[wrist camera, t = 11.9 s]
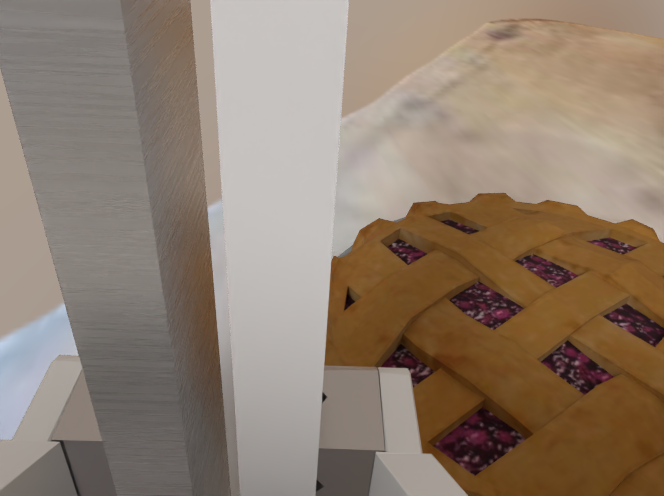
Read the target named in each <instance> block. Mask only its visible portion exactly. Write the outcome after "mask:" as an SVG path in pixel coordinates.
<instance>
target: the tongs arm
mask: <svg viewBox="0 0 664 496" xmlns="http://www.w3.org/2000/svg"><path fill="white" fill-rule="evenodd" d="M193 41H194V40H193V29H192V16H191V3H190V0H0V69H1V72H2V76H3V80H4V83H5V87H6V91H7V94H8V98H9V102H10V105H11V109H12V113H13V116H14V120H15V124H16V127H17V131H18V134H19V138H20V142H21V145H22V149H23V153H24V157H25V160H26V164H27V168H28V171H29V175H30V179H31V182H32V186H33V189H34V193H35V197H36V200H37V204H38V207H39V211H40V215H41V218H42V222H43V226H44V230H45V233H46V237H47V241H48V244H49V248H50V251H51V255H52V259H53V262H54V266H55V270H56V273H57V277H58V281H59V284H60V288H61V292H62V295H63V299H64V303H65V306H66V310H67V314H68V317H69V321H70V325H71V328H72V332H73V336H74V339H75V343H76V347H77V350H78V354H79V358H80V361H81V365H82V369H83V372H84V376H85V380H86V383H87V387H88V390H89V394H90V398H91V401H92V405H93V409H94V412H95V416H96V420H97V423H98V427H99V431H100V434H101V438H102V442H103V445H104V449H105V453H106V456H107V460H108V464H109V467H110V471H111V475H112V478H113V482H114V486H115V489H116V493H117V496H231V491H230V479H229V466H228V454H227V442H226V430H225V418H224V406H223V393H222V381H221V369H220V357H219V345H218V332H217V320H216V308H215V296H214V284H213V271H212V259H211V247H210V235H209V223H208V211H207V199H206V186H205V174H204V162H203V150H202V139H201V138H202V137H201V126H200V113H199V101H198V89H197V77H196V64H195V53H194V42H193Z"/></svg>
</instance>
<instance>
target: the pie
mask: <svg viewBox="0 0 664 496" xmlns="http://www.w3.org/2000/svg"><path fill="white" fill-rule="evenodd" d="M324 366H356V367H376V368H378V367H384V368H408V370H409V371H410V373H411V379H412V386H413V393H414V399H415V406H416V413H417V420H418V426H419V433H420V440H421V447H422V453H425V454H432V455H433V456H434V457H435V458H436V459H437V460H438V462H439V463H440V464H441V465H442V466H443V467H444V468H445V470H446V471H447V472H448V473H449V474H450V475H451V477H452V478H453V479H454V480H455V481H456V482H457V483H458V485H459V486H460V487H461V488H462V489H463V490H464V491H465V493H466V494H467V495H468V496H664V243H662V242H660V241H659V239H658V237H657V235H656V233H655V231H654V229H653V228H650V227H648V226H646V225H644V224H642V223H639V222H637V221H635V220H633V219H631V220H627V221H624V222H620V223H617V224H614V223H611V222H608V221H605V220H601V219H598V218H595V217H592V216H588V215H587V214H585V213H584V212H583V211H582V210H581V209H580V208H579V207H578V206H576V205H570V204H565V203H560V202H555V201H550V200H546V201H544V202H541V203H538V204H531V203H522V202H515V201H514V200H513V199H511V198H510V197H509V196H508V195H507V194H506V193H487V194H478V195H476V196H475V197H474V198H473V199H472V200H471V201H470V202H466V203H458V204H451V205H449V204H442V203H437V202H436V201H430V202H417V203H413V205H412V207H411V209H410V210H409V212H408V214H407V216H406V217H404V218H402V219H399V220H396V221H393V222H392V221H388V220H384V219H380V218H379V219H377V220H376V221H374V222H372V223H371V224H369V225H367V226H366V227H364V228H363V229H361V230H360V231H359V233H358V235H357V238H356V240H355V242H354V244H353V245H352V246H351V247H350V248H349V249H347V250H346V251H345V252H343V253H342V254H341V255H340V256H338V257H336V256H334V257H333V259H332V261H331V273H330V287H329V302H328V317H327V332H326V347H325V362H324Z"/></svg>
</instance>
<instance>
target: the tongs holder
mask: <svg viewBox="0 0 664 496" xmlns="http://www.w3.org/2000/svg"><path fill="white" fill-rule="evenodd" d="M210 2H211V18H212V34H213V52H214V68H215V86H216V101H217V118H218V135H219V152H220V169H221V186H222V203H223V220H224V236H225V253H226V270H227V286H228V303H229V320H230V337H231V353H232V370H233V387H234V404H235V420H236V437H237V454H238V470H239V487H240V496H315V495H316V480H317V465H318V451H319V436H320V421H321V406H322V391H323V376H324V362H325V347H326V332H327V317H328V302H329V287H330V273H331V258H332V243H333V228H334V213H335V198H336V184H337V169H338V154H339V139H340V124H341V108H342V95H343V80H344V64H345V50H346V34H347V20H348V4H349V0H210Z"/></svg>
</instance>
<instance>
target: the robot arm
mask: <svg viewBox="0 0 664 496" xmlns="http://www.w3.org/2000/svg"><path fill="white" fill-rule="evenodd" d="M0 496H117V493H116V489H115V486H114V482H113V478H112V475H111V471H110V467H109V464H108V460H107V456H106V453H105V449H104V445H103V442H102V438H101V434H100V431H99V427H98V423H97V420H96V416H95V412H94V409H93V405H92V401H91V398H90V394H89V390H88V387H87V383H86V380H85V376H84V372H83V369H82V365H81V361H80V358H79V356H71V355H59V356H58V357H57V358H56V359H55V360H54V361H53V362H52V363H51V364H50V366H49V368H48V370H47V372H46V374H45V376H44V378H43V380H42V382H41V384H40V386H39V388H38V390H37V392H36V394H35V396H34V398H33V400H32V402H31V404H30V405H29V407H28V409H27V411H26V413H25V415H24V417H23V419H22V421H21V423H20V425H19V427H18V429H17V431H16V433H15V435H14V437H13V439H12V440H1V441H0ZM315 496H468V495H467V494H466V493H465V491H464V490H463V489H462V488H461V487H460V486H459V485H458V483H457V482H456V481H455V480H454V479H453V478H452V477H451V475H450V474H449V473H448V472H447V471H446V470H445V468H444V467H443V466H442V465H441V464H440V463H439V462H438V460H437V459H436V458H435V457H434V456H433V455H432V454H425V453H422V447H421V440H420V433H419V426H418V420H417V413H416V406H415V399H414V393H413V386H412V379H411V373H410V371H409V370H408V368H384V367H378V368H376V367H356V366H324V376H323V391H322V406H321V421H320V436H319V451H318V465H317V480H316V495H315Z"/></svg>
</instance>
